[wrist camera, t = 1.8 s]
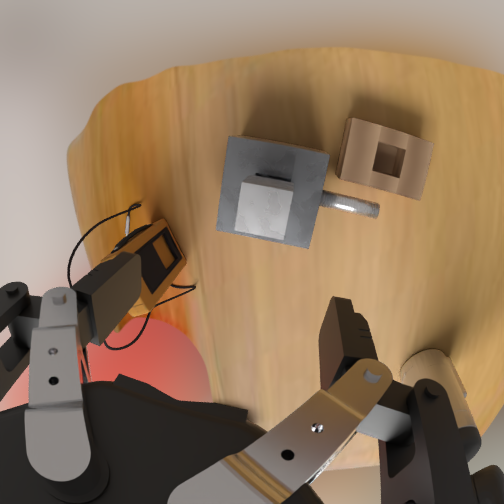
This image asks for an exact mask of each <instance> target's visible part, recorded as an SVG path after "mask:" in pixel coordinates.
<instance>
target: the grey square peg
mask: <svg viewBox="0 0 504 504" xmlns="http://www.w3.org/2000/svg"><path fill="white" fill-rule="evenodd" d="M293 189H294V183H291V182H286V181H283V179H282V178H281V177H276V176H271V175H269V176H268V177H267V178H265V177H260V176H254V175H249V176H247V177H246V178H245V179H244V180H243V181H242V184H241V190H240V197H239V203H238V210H237V216H236V223H235V231H240V232H245V233H250V234H255V235H260V236H265V237H270V238H275V239H280V240H284V235H285V230H286V226H287V221H288V216H289V211H290V206H291V201H292V196H293Z"/></svg>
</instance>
